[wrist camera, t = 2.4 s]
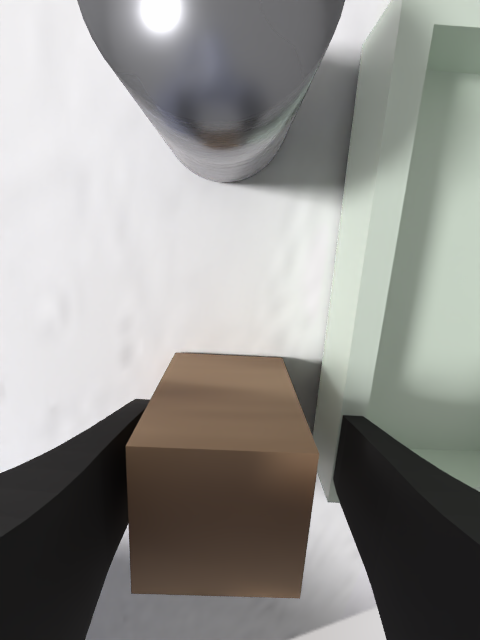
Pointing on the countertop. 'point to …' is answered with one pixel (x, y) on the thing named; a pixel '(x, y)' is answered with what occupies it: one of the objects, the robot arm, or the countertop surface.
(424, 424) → the tray
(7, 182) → the countertop surface
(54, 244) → the countertop surface
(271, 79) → the steel cylinder
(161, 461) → the walnut block
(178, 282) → the countertop surface
